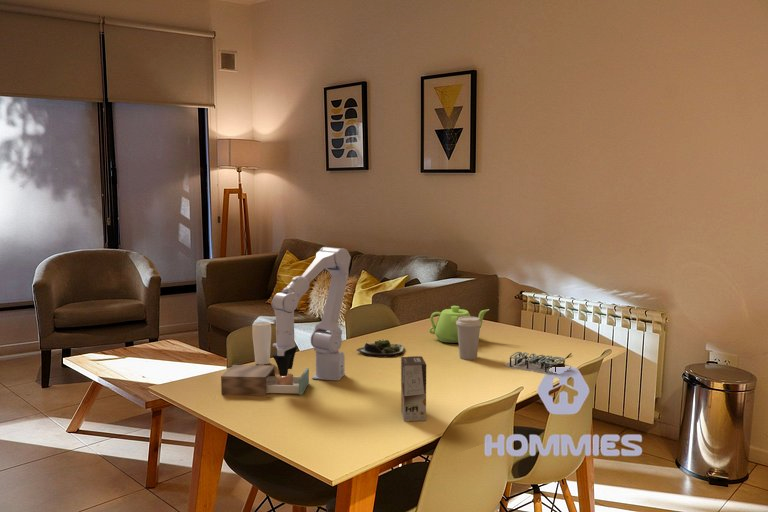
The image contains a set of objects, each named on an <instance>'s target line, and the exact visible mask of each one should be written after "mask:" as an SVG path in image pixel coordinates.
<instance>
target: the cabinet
mask: <svg viewBox="0 0 768 512" xmlns="http://www.w3.org/2000/svg"><path fill="white" fill-rule="evenodd" d="M268 376H276V365H269V364H267V365H257V364H233V365H231V367H229V368H228V369H227V370H226V371H225V372H224V373H222V375H221V376H220V387H221V390H220V391H221V395H233V396H234V395H236V396H237V395H238V396H267V395H268V393H267V390H266V378H267V377H268Z"/></svg>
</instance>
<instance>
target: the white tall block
mask: <svg viewBox="0 0 768 512" xmlns="http://www.w3.org/2000/svg"><path fill="white" fill-rule="evenodd" d="M251 325H252V328H251V330H252V331H251V332H252V335H251V336H252V343H253V353H254V365H257V364H259V365H264V364H267V365H269V364H270V362H271V343H272V322H270V321H255V322H253V323H252V324H251Z"/></svg>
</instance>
